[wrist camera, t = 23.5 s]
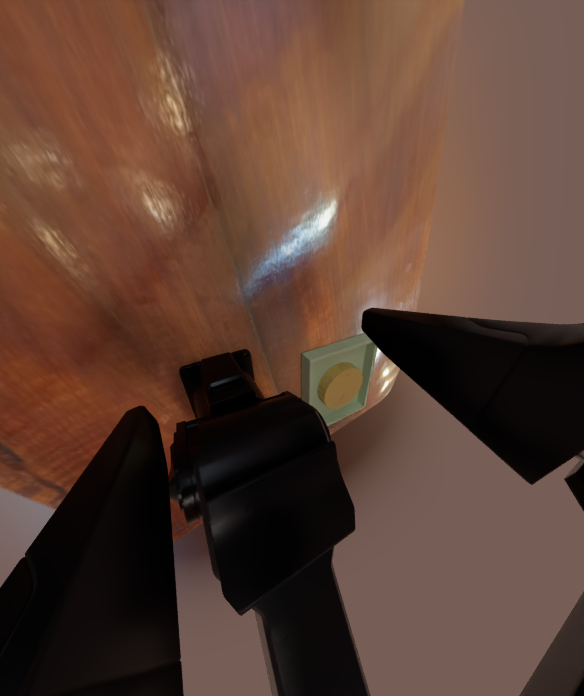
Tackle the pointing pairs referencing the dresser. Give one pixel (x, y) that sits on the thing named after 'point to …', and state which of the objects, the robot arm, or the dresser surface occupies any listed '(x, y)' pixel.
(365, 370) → the tray
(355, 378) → the lid
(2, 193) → the dresser surface
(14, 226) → the dresser surface
